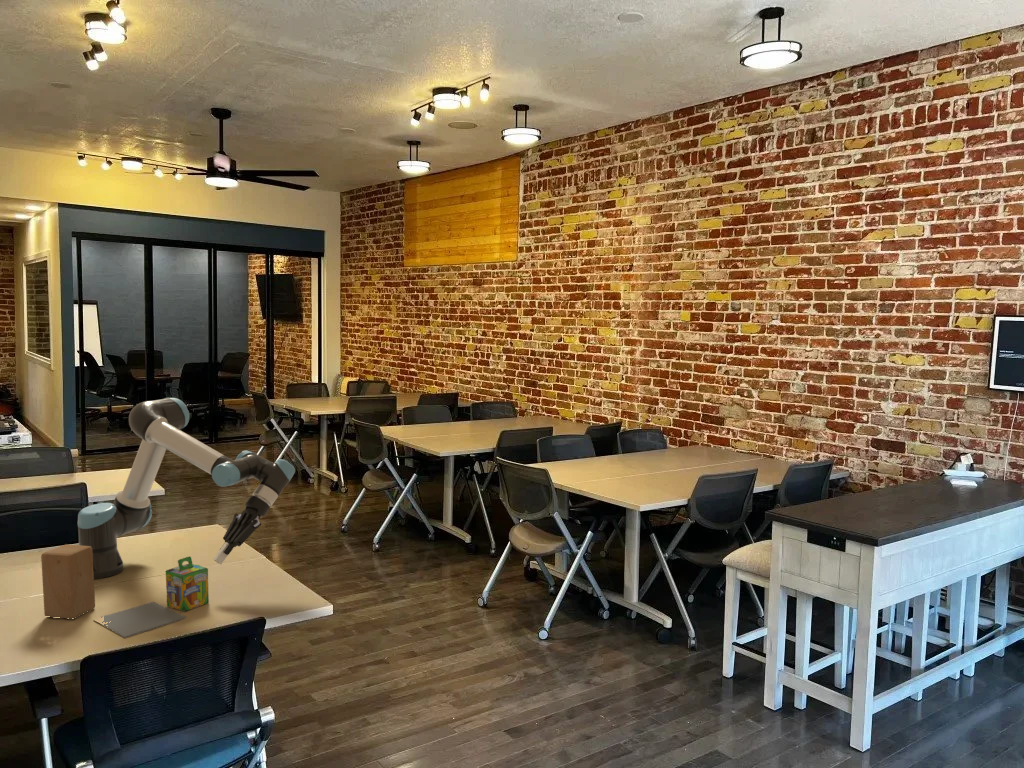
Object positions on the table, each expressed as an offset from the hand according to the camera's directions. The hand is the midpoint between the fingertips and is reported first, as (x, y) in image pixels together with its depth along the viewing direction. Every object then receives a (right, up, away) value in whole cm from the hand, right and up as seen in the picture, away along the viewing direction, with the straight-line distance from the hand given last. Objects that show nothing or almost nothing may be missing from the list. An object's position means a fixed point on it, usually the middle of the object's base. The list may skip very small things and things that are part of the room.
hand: (217, 561), depth 246 cm
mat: (-16, -13, -18) cm, 27 cm away
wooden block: (-39, -13, -14) cm, 43 cm away
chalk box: (-6, -12, -7) cm, 15 cm away
